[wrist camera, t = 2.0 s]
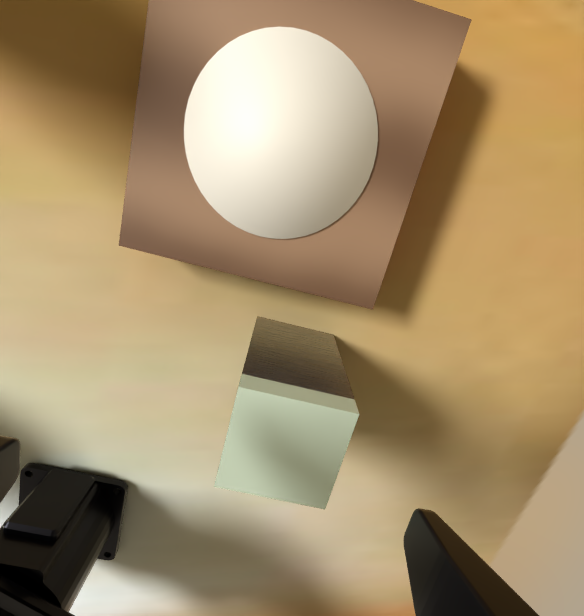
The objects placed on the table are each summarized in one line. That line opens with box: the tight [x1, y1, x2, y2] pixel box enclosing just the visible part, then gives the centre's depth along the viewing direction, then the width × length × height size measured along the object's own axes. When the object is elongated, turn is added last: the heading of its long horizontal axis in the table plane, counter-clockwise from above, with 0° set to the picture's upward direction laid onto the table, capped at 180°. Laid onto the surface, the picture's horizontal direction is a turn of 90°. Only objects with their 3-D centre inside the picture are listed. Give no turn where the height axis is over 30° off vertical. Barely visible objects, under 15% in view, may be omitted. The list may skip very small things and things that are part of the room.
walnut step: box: [119, 0, 471, 309], centre depth 16 cm, size 12×12×3 cm
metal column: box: [214, 316, 359, 509], centre depth 18 cm, size 4×4×8 cm
